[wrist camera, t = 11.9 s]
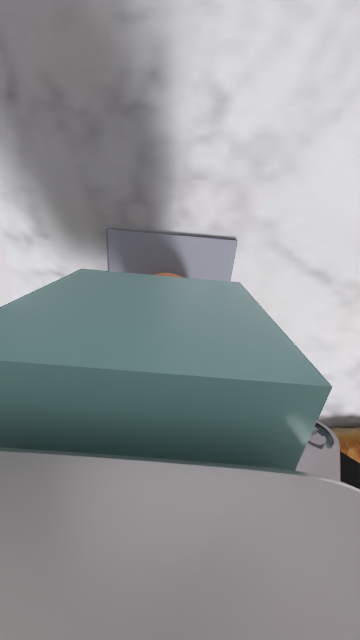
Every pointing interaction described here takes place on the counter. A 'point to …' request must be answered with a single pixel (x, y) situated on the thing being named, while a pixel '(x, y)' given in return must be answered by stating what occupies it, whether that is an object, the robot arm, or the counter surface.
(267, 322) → the mint green block
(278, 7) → the counter surface
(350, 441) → the pastry
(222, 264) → the grey square plate
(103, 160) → the counter surface
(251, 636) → the robot arm
